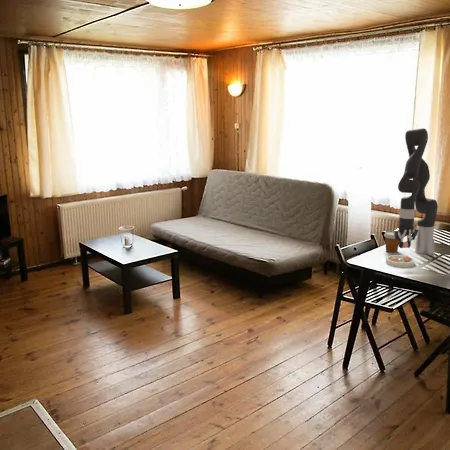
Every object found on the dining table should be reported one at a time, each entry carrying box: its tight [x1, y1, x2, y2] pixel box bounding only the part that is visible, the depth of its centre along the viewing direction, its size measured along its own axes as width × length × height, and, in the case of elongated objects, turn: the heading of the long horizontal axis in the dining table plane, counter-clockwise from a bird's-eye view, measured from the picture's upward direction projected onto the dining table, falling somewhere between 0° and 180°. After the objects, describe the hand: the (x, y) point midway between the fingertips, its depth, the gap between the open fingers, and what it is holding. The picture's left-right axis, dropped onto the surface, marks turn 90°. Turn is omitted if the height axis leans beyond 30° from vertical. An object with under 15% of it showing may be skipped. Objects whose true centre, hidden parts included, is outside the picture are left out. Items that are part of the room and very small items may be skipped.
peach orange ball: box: [402, 240, 408, 249], centre depth 255 cm, size 4×4×4 cm
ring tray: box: [385, 254, 415, 268], centre depth 261 cm, size 15×15×3 cm
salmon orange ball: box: [403, 255, 410, 262], centre depth 262 cm, size 4×4×4 cm
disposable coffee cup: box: [383, 231, 400, 254], centre depth 282 cm, size 10×10×12 cm
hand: (404, 247), depth 255 cm, fingers closed on peach orange ball, 3 cm apart
